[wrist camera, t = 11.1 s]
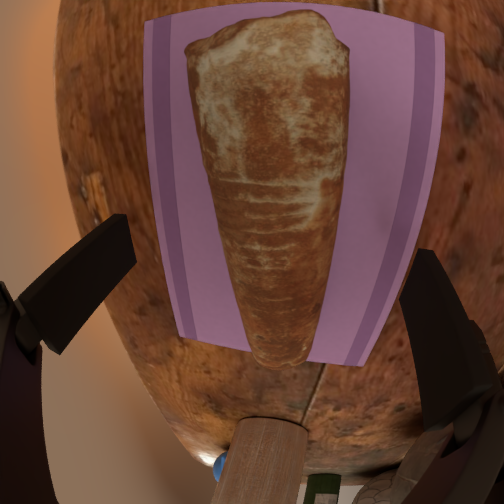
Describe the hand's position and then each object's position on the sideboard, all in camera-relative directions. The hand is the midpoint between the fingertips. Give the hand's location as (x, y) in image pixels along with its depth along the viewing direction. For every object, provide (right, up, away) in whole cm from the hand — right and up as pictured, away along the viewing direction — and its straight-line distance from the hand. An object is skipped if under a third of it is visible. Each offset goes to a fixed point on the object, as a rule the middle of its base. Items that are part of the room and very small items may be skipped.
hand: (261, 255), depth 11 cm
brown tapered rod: (+2, +2, +3) cm, 4 cm away
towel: (+1, +2, +4) cm, 5 cm away
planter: (+2, -24, +20) cm, 31 cm away
